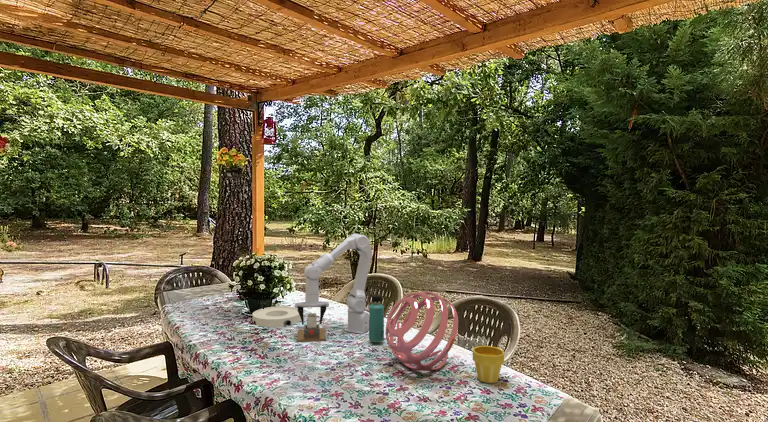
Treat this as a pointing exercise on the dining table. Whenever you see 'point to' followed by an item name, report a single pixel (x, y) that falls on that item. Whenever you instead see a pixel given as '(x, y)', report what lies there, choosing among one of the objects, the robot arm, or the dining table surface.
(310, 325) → the grayish brown rectangular block
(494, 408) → the dining table surface
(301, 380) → the dining table surface
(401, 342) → the spiral basket
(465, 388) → the dining table surface
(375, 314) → the beverage bottle
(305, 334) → the stand base
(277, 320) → the ashtray
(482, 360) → the plant pot
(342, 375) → the dining table surface
